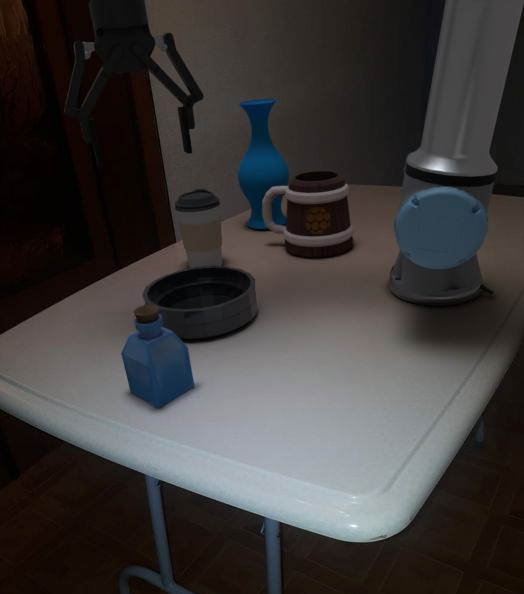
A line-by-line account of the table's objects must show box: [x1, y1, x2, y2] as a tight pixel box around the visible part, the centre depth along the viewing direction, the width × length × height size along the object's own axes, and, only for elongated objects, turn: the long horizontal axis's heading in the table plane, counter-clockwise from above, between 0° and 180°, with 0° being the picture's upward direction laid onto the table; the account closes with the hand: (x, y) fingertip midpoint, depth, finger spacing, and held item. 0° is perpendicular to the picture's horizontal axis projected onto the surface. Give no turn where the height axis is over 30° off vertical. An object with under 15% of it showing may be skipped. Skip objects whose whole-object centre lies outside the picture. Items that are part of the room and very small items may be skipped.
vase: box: [237, 98, 290, 230], centre depth 131 cm, size 12×13×28 cm
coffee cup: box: [174, 188, 223, 268], centre depth 113 cm, size 9×9×15 cm
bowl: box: [141, 265, 259, 340], centre depth 93 cm, size 19×19×6 cm
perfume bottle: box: [120, 304, 195, 409], centre depth 73 cm, size 6×6×12 cm
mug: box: [262, 170, 355, 258], centre depth 117 cm, size 20×15×15 cm
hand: (145, 158), depth 86 cm, fingers open, 13 cm apart
